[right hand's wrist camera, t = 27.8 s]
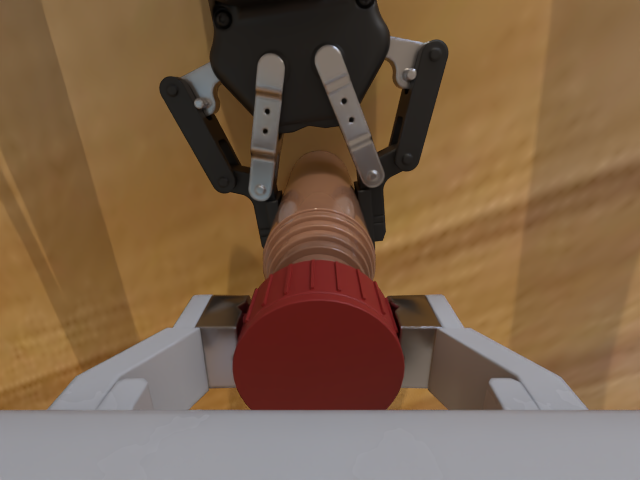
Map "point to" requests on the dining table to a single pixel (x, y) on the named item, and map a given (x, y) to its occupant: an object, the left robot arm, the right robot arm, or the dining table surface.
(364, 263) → the bottle
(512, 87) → the dining table surface
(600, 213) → the dining table surface
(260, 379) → the cap
